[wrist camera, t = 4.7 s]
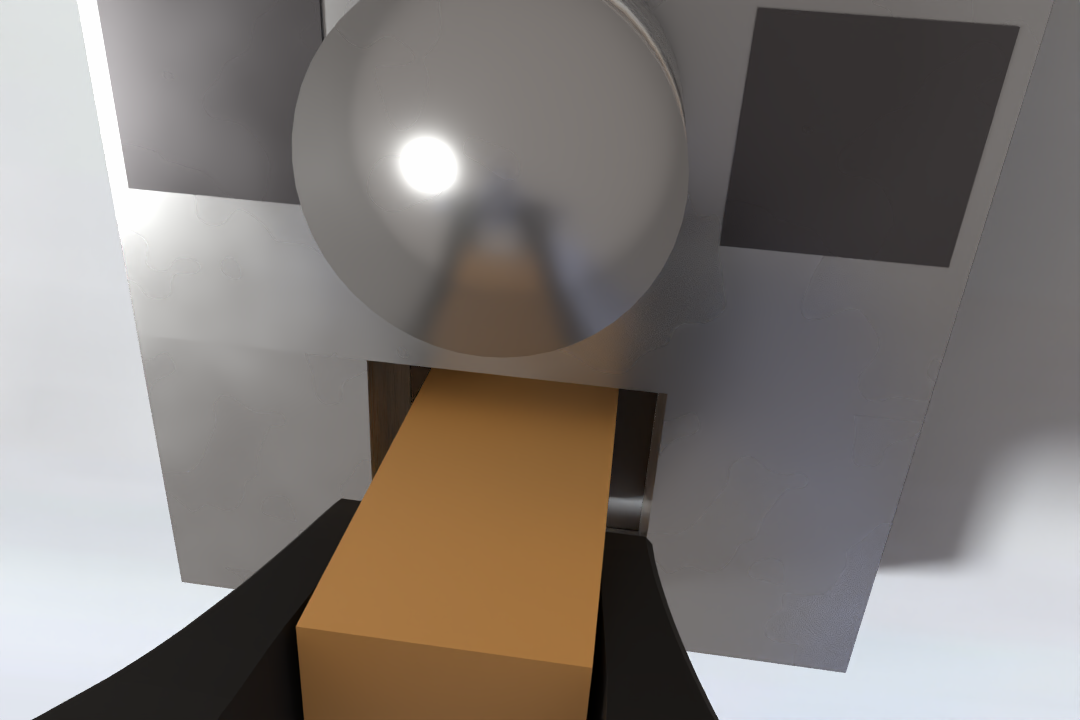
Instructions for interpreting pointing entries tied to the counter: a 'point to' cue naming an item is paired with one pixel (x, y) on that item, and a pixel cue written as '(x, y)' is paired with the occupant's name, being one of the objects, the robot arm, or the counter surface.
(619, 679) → the robot arm
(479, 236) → the gray tray with knob
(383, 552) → the orange rectangular box
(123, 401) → the counter surface
